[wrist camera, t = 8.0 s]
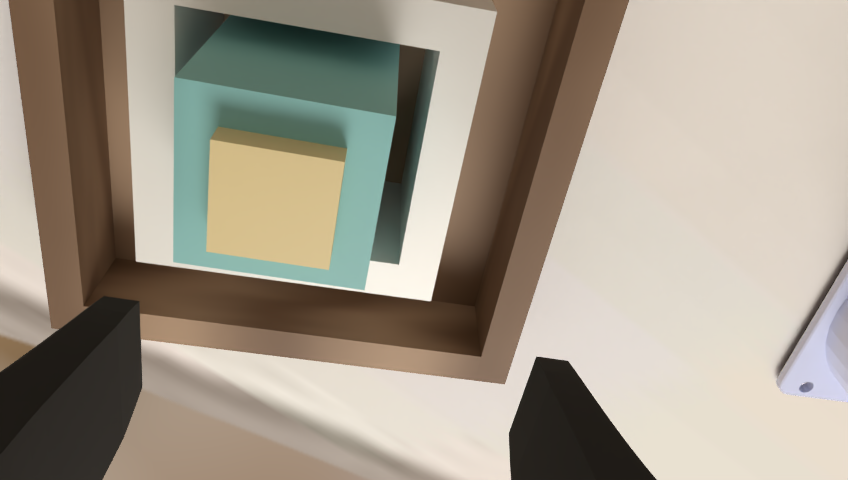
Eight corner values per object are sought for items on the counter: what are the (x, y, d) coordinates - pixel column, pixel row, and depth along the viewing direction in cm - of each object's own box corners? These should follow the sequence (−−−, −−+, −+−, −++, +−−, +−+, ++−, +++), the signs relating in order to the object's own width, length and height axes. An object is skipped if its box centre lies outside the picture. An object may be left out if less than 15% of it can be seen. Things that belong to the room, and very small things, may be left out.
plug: (401, 20, 19) (395, 129, 12) (378, 153, 21) (362, 307, 14) (251, -9, 18) (163, 88, 12) (243, 130, 20) (164, 278, 14)
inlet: (478, -30, 18) (497, 11, 14) (427, 216, 22) (430, 301, 18) (185, -86, 17) (121, -57, 13) (186, 180, 21) (136, 261, 17)
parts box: (648, -193, 16) (691, -195, 14) (495, 325, 25) (504, 384, 22) (38, -327, 15) (-39, -357, 12) (91, 271, 23) (51, 328, 21)
